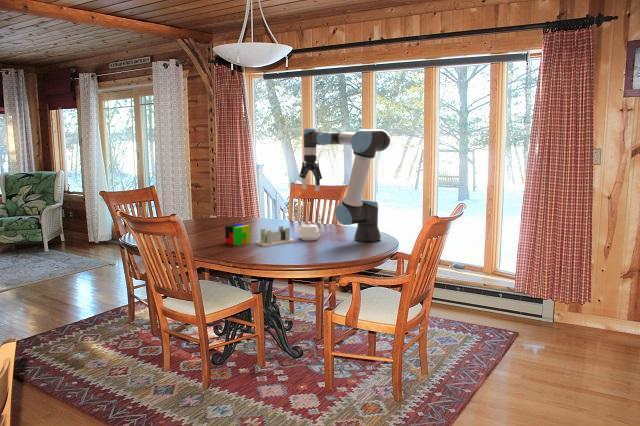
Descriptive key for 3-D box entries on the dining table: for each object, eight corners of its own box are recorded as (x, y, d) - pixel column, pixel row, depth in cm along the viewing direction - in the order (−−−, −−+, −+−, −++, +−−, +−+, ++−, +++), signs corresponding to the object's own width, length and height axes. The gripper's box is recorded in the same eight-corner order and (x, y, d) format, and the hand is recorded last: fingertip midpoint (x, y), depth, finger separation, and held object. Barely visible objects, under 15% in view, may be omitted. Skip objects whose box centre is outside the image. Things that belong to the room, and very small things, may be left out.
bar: (288, 239, 297) (288, 230, 296) (264, 242, 288) (263, 234, 287) (285, 238, 300) (285, 229, 299) (260, 241, 290) (260, 233, 290)
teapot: (329, 239, 300) (329, 222, 299) (314, 243, 292) (314, 225, 290) (305, 235, 314) (305, 218, 313) (290, 238, 306) (290, 221, 304)
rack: (295, 241, 296) (294, 227, 294) (264, 246, 284) (264, 231, 283) (285, 238, 304) (285, 224, 302) (255, 243, 292) (255, 229, 291)
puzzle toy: (239, 240, 301) (238, 223, 299) (251, 242, 294) (250, 225, 293) (225, 243, 293) (225, 226, 291) (237, 245, 287) (237, 228, 285)
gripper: (327, 155, 304) (328, 191, 307) (303, 153, 324) (304, 187, 327) (317, 155, 299) (317, 192, 303) (293, 154, 319) (294, 188, 323)
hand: (310, 190), depth 315 cm, fingers open, 13 cm apart
